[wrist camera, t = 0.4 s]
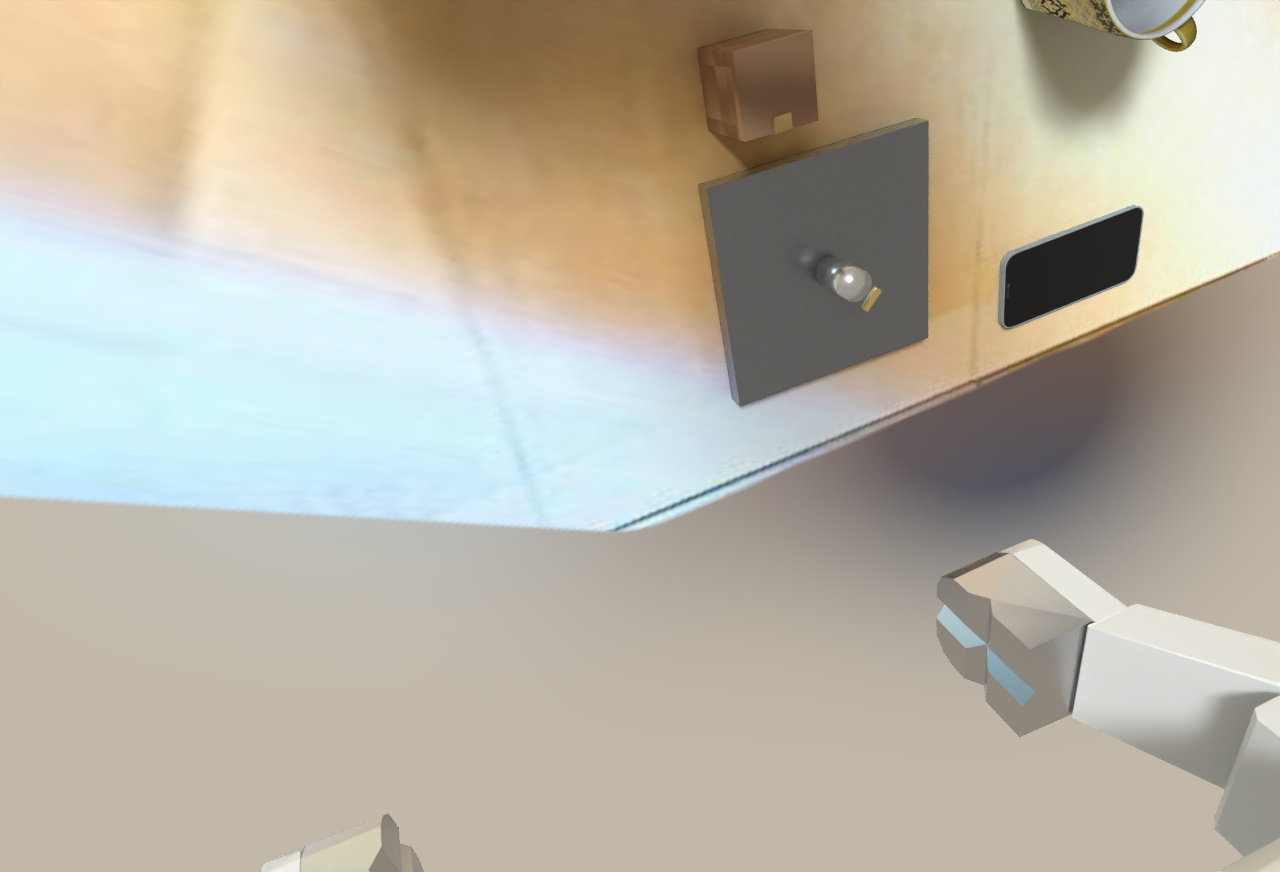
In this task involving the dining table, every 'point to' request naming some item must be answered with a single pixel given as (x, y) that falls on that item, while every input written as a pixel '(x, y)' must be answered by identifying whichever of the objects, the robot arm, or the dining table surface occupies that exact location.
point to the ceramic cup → (1130, 17)
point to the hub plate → (820, 258)
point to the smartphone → (1069, 266)
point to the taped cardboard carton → (759, 83)
